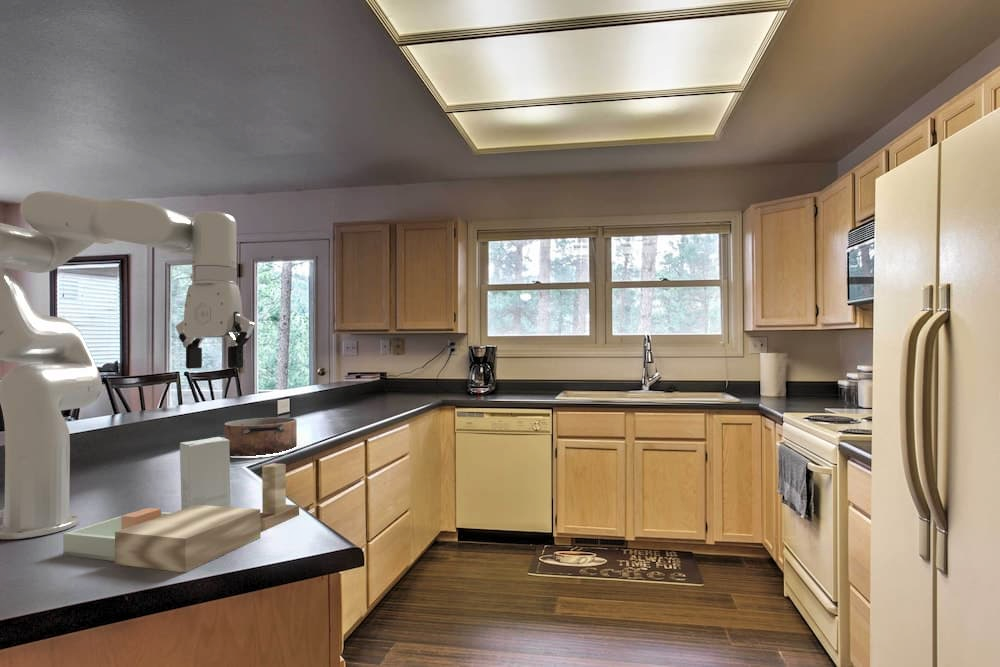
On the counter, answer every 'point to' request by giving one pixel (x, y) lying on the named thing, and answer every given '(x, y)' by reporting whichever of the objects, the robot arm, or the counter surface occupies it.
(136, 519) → the salmon pink brick
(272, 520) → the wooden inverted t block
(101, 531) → the box
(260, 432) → the cooking pot
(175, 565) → the birch block
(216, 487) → the skincare box
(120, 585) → the counter surface
